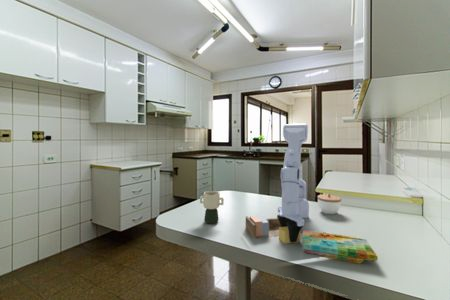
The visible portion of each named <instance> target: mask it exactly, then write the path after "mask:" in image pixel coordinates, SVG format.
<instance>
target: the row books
mask: <svg viewBox="0 0 450 300" xmlns="http://www.w3.org/2000/svg"><path fill="white" fill-rule="evenodd" d="M249 218H250V219H251V220H252V221H253V222H254V223H255V224H256V237H258V236H268V235H269V222H268V221H267V220H266V219H267V218H265V217H264V216H258V215H252V216H249Z"/></svg>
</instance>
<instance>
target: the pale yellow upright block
mask: <svg viewBox="0 0 450 300" xmlns="http://www.w3.org/2000/svg"><path fill="white" fill-rule="evenodd" d="M278 239H279V240H280V241H281V242H282V243H283V244H285V245H286V244H293V243H300V242H301V233H300V232H299V235H298V238H297V241H296V242H290V239H289V230H288V226H287V227H279V236H278Z"/></svg>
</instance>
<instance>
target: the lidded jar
mask: <svg viewBox="0 0 450 300" xmlns="http://www.w3.org/2000/svg"><path fill="white" fill-rule="evenodd" d="M341 204H342V198H341V197H340V196H336V195H332V194H331V193H327V194H318V195H317V205H318V207H319V209H320V211H321V212H322V213H323V214H324V215H335V214H336V213H337V212H339V211H340V208H341Z"/></svg>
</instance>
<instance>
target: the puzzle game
mask: <svg viewBox="0 0 450 300" xmlns="http://www.w3.org/2000/svg"><path fill="white" fill-rule="evenodd" d="M302 230H303V231H302V233H301V237H302V250H303V251H304V252H305V253H306V254H311V255H317V256H321V258H325V259H331V260H332V259H333V260H336V261H337V260H338V261H344V262H351V263H357V264H361V263H363V262H364V260H366V261H371V262H376V261H378V255H377V253H376V252H375V251H374V249H373V248H372V246H371V245H370V243H369V241H368V240H367V239H366V238H364V237H356V236H351V235H350V236H349V235H342V234H337V233H336V234H334V233H329V232H325V231H323V232H322V231H315V230H308V229H302Z"/></svg>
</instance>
